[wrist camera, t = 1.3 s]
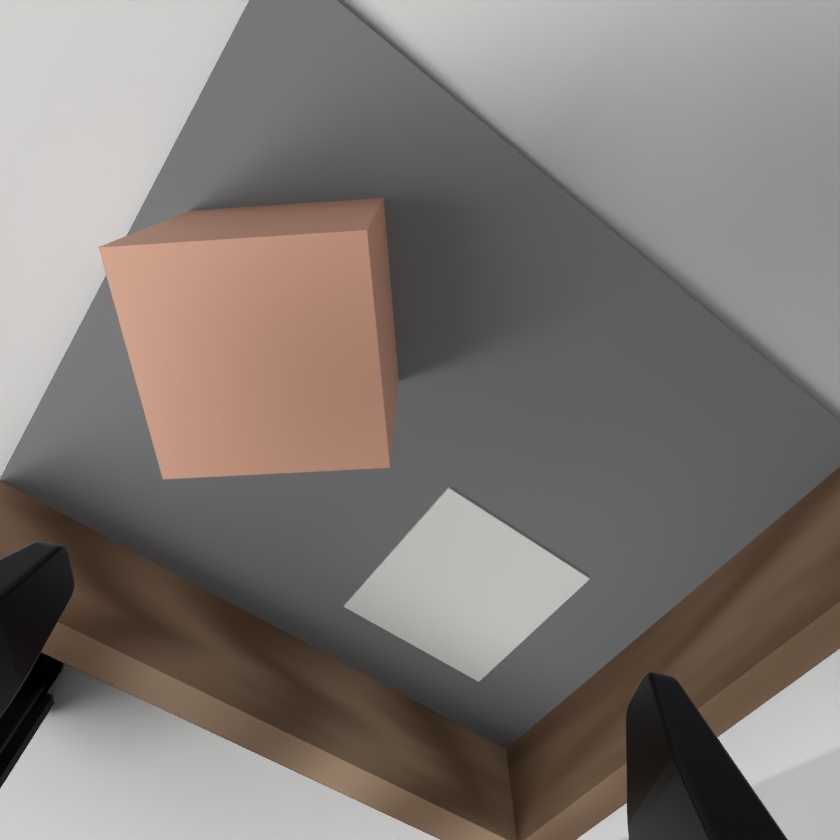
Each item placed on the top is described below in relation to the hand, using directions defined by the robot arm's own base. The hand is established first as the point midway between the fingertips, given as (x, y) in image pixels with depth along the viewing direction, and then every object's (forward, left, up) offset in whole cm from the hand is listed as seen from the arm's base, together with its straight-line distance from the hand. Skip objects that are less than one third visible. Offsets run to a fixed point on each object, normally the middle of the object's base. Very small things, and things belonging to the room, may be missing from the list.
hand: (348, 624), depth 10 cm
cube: (-3, 0, -11) cm, 12 cm away
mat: (+4, -3, -12) cm, 12 cm away
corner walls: (+4, -3, -12) cm, 12 cm away
